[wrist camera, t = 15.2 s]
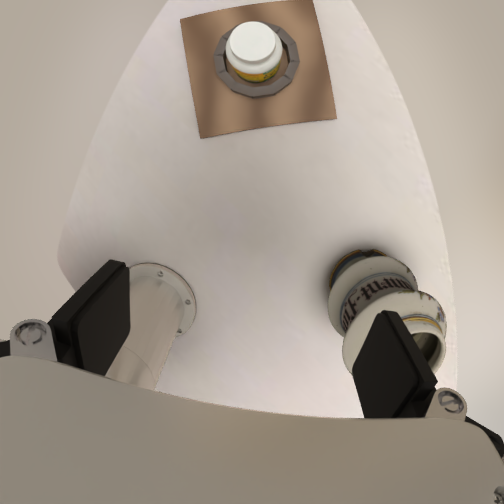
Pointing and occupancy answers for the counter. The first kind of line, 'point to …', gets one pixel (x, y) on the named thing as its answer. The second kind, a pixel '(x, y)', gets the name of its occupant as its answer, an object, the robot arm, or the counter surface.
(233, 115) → the stand board
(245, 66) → the supplement bottle
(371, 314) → the apothecary jar
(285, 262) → the counter surface
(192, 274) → the counter surface
